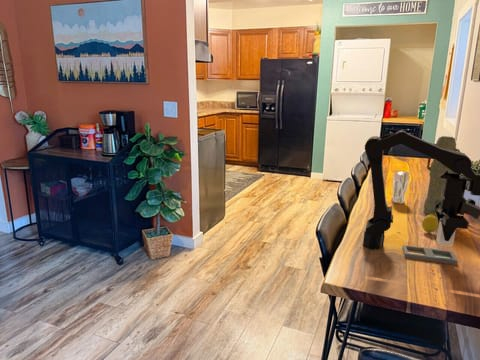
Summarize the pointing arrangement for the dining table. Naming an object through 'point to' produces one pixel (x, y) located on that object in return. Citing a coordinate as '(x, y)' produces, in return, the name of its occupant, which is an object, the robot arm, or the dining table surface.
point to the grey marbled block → (400, 186)
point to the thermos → (437, 175)
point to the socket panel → (429, 254)
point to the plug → (441, 239)
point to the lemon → (430, 223)
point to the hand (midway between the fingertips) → (445, 238)
